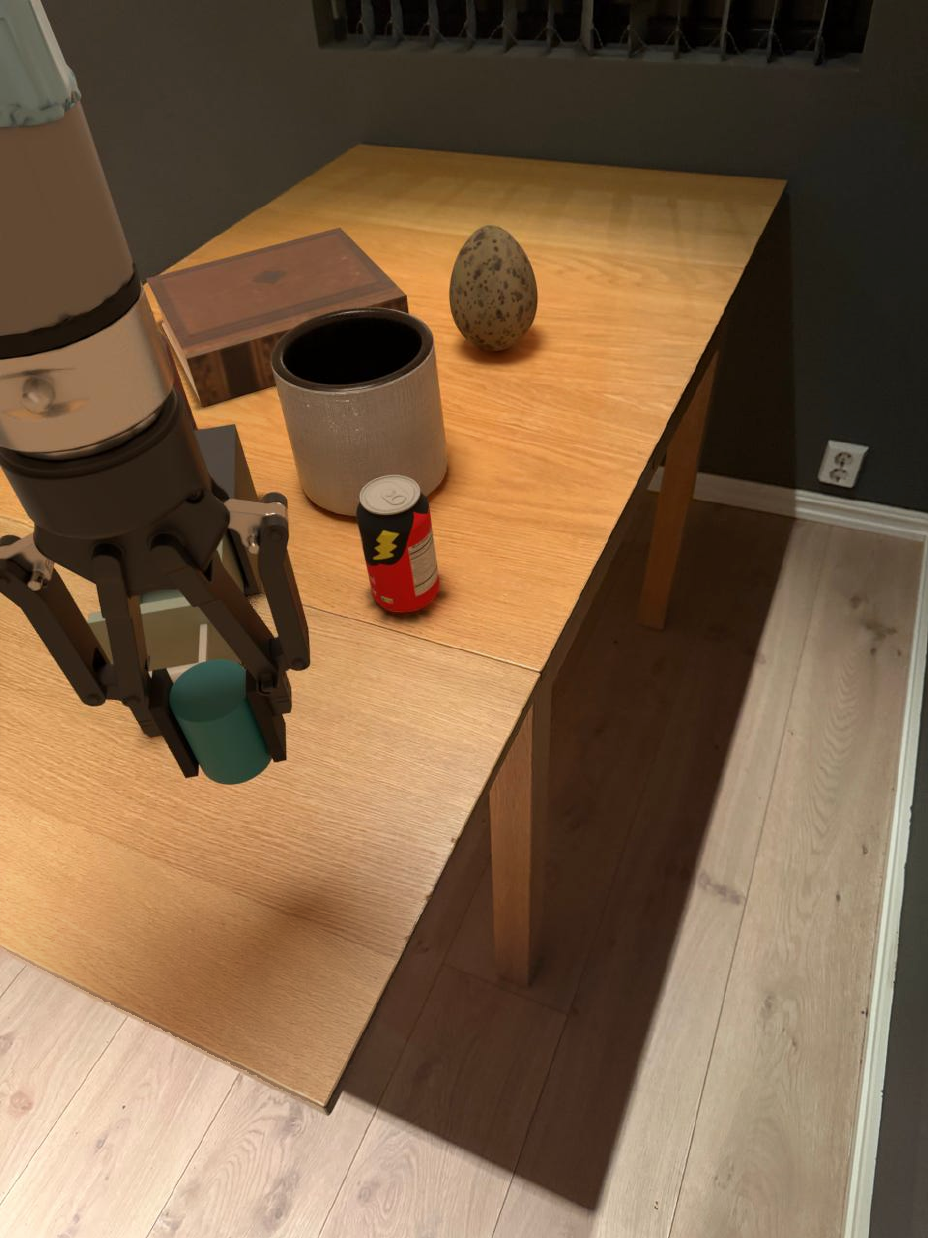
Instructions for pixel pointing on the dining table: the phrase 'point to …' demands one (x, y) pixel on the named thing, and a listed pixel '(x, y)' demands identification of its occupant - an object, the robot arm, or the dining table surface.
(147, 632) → the drawer
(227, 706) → the teal cylinder
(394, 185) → the dining table surface
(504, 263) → the decorative egg
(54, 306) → the robot arm
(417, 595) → the beverage can
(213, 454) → the cabinet
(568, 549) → the dining table surface
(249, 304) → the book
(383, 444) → the planter
